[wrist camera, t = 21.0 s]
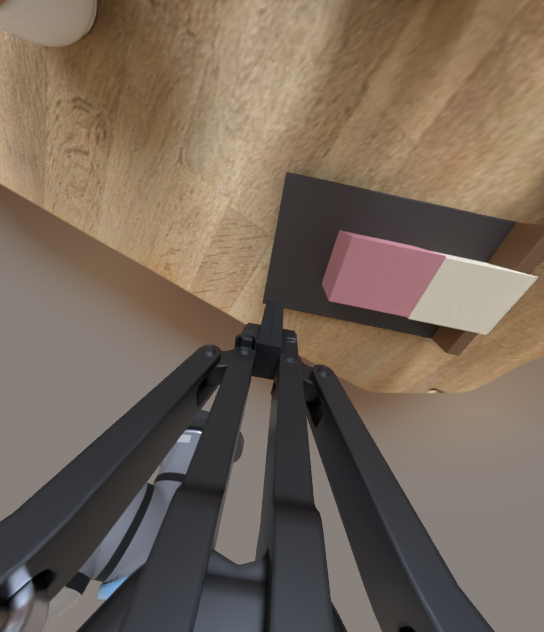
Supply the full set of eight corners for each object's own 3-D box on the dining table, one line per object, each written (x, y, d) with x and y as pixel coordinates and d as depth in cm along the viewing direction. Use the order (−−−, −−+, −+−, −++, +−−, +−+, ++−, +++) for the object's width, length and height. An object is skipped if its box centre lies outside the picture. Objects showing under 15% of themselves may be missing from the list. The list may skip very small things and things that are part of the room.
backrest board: (434, 334, 27) (459, 355, 23) (264, 298, 26) (259, 314, 22) (515, 224, 20) (570, 228, 16) (286, 174, 20) (285, 165, 16)
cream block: (450, 311, 23) (486, 335, 19) (386, 298, 23) (408, 318, 19) (486, 262, 20) (539, 277, 16) (412, 247, 20) (446, 257, 16)
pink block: (386, 297, 23) (408, 317, 19) (321, 284, 23) (328, 301, 19) (413, 245, 20) (447, 256, 16) (339, 230, 20) (352, 236, 16)
